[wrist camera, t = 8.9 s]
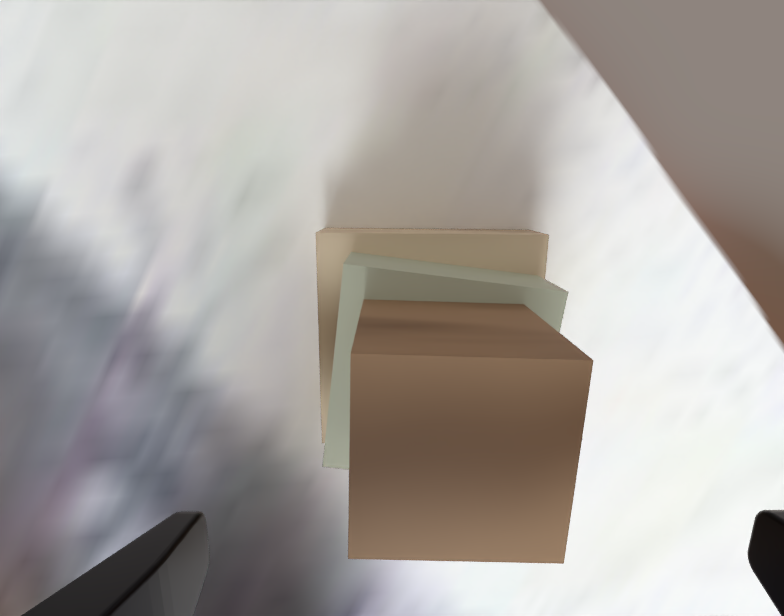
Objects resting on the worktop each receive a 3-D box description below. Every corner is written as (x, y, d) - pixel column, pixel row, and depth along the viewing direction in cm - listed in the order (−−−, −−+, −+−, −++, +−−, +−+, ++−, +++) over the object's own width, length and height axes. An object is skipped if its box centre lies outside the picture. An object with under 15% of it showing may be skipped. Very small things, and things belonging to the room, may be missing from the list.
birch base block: (511, 410, 22) (529, 444, 19) (331, 409, 22) (321, 443, 19) (525, 229, 20) (548, 234, 17) (326, 226, 20) (315, 232, 17)
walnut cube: (508, 447, 16) (563, 563, 11) (360, 444, 15) (348, 558, 11) (523, 304, 14) (593, 360, 9) (363, 299, 14) (350, 353, 9)
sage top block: (503, 443, 19) (524, 488, 16) (333, 423, 19) (322, 466, 16) (537, 275, 17) (568, 292, 14) (351, 251, 17) (343, 263, 14)
